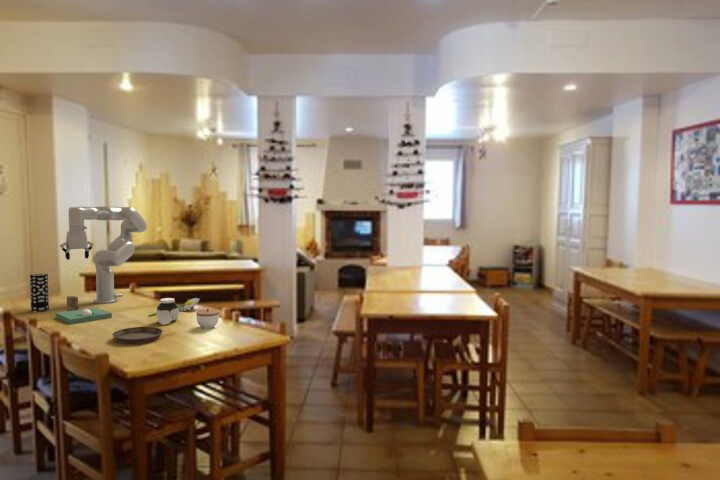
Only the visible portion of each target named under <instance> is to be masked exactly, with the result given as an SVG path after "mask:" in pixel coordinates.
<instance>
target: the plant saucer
mask: <svg viewBox="0 0 720 480" xmlns="http://www.w3.org/2000/svg"><path fill="white" fill-rule="evenodd" d="M163 331H164V330H162V329H161V328H159V327H153V326H134V327H127V328H122V329H118V330H115V331H114V332H113V333H112V335H111V336H112V337H113V338H114V339H115V340H116V341H117V342H119V343H121V344H127V345H128V344H129V345H137V344H138V343H139V344H145V342H146V343H149V342H153V341H155V339H156V340H157V339H159V337H161V335H162V333H163Z"/></svg>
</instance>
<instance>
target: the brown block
mask: <svg viewBox="0 0 720 480" xmlns="http://www.w3.org/2000/svg"><path fill="white" fill-rule="evenodd" d="M74 310H79V296H76V295H68V296H66V312H67V311H74Z"/></svg>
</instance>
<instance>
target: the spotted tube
mask: <svg viewBox="0 0 720 480" xmlns="http://www.w3.org/2000/svg"><path fill="white" fill-rule="evenodd" d="M29 290H30V311H31V312H33V313H40V312H41V313H42V312H46V311H49V310H50V304H49V303H50V302H49V301H50V300H49V299H50V298H49V274H47V273H35V274H34V273H33V274H30V275H29Z"/></svg>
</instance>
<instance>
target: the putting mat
mask: <svg viewBox="0 0 720 480" xmlns="http://www.w3.org/2000/svg"><path fill="white" fill-rule="evenodd" d="M85 309H86V308H83V309H78V310H74V311H67V310H66V311H60V312H56V313H55V318H56V319H58V320H61V321H63V322H65V323H67V324H69V325H73V324H81V323H86V322H94V321H99V320H105V319H112V318H113V313H112V312H111V311H109V310H108V311H107V310H104V309H103V308H102V309H101V308H99V307H89V308H88V307H87V309H88V310H90V311H91V312H92V315H90V316H81V312H82V311H83V310H85Z"/></svg>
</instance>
